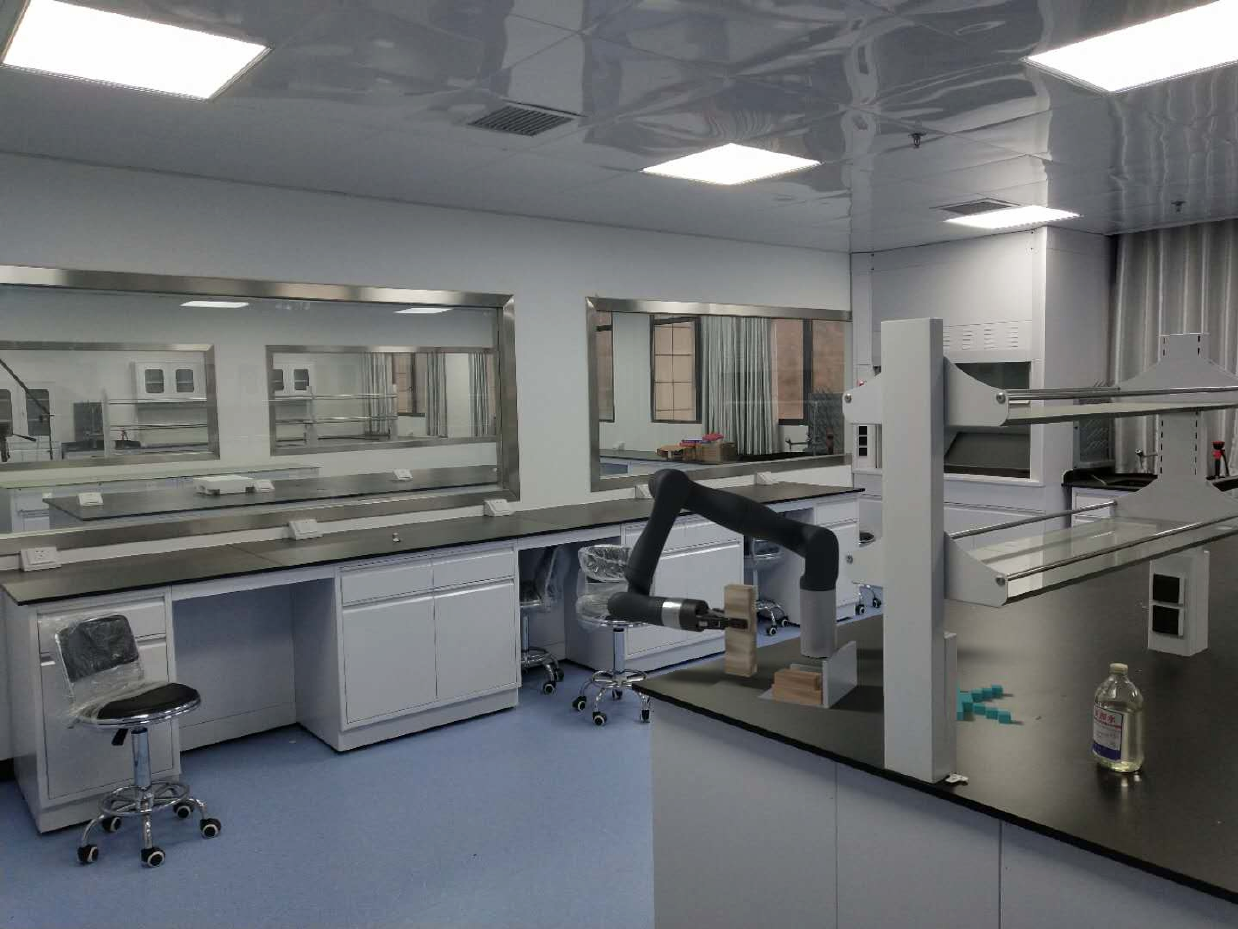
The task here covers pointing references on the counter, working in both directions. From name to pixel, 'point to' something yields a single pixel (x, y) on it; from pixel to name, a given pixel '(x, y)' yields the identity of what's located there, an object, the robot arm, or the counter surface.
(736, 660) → the plywood board
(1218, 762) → the counter surface
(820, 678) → the upper offcut
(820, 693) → the block
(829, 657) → the board rack
